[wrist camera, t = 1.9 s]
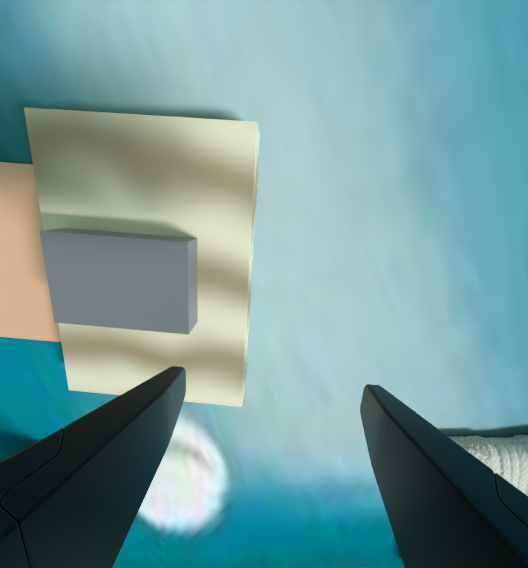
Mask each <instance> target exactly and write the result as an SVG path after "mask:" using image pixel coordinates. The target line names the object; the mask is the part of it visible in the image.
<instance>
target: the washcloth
mask: <svg viewBox="0 0 528 568" xmlns="http://www.w3.org/2000/svg"><path fill="white" fill-rule="evenodd" d="M449 438H451V439H452V440H453V441H455V442H456V443H457V444H459V445H460V446H461V447H463V448H464V449H465V450H467V451H468V452H469V453H471V454H472V455H473V456H475V457H476V458H477V459H479V460H480V461H481V462H483V463H484V464H485V465H487V466H488V467H489V468H491V469H492V470H493V471H494V473H497V474H499V475H500V476H501V477H503V478H504V479H505V480H507V481H508V482H509V483H511V484H512V485H513V486H515V487H516V488H517V489H519V490H520V491H522V492H523V493H524V494H526V495H527V496H528V435H514V436H513V437H505V438H503V437H496V438H495V437H488V438H483V437H481V436H478V435H475V436H460V437H456V436H454V437H452V436H449Z"/></svg>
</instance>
